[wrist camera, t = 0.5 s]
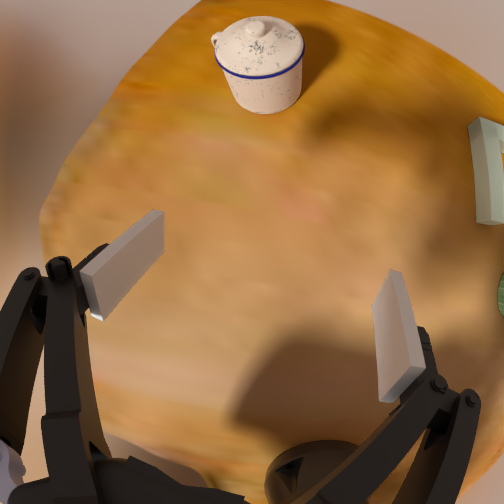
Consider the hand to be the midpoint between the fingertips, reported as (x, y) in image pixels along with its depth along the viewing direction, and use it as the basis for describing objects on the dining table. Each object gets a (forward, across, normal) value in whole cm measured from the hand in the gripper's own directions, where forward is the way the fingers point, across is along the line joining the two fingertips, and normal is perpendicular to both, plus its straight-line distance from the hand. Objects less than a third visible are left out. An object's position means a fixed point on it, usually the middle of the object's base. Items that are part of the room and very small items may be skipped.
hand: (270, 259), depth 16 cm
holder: (+22, -31, -8) cm, 39 cm away
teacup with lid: (+24, +8, -9) cm, 27 cm away
